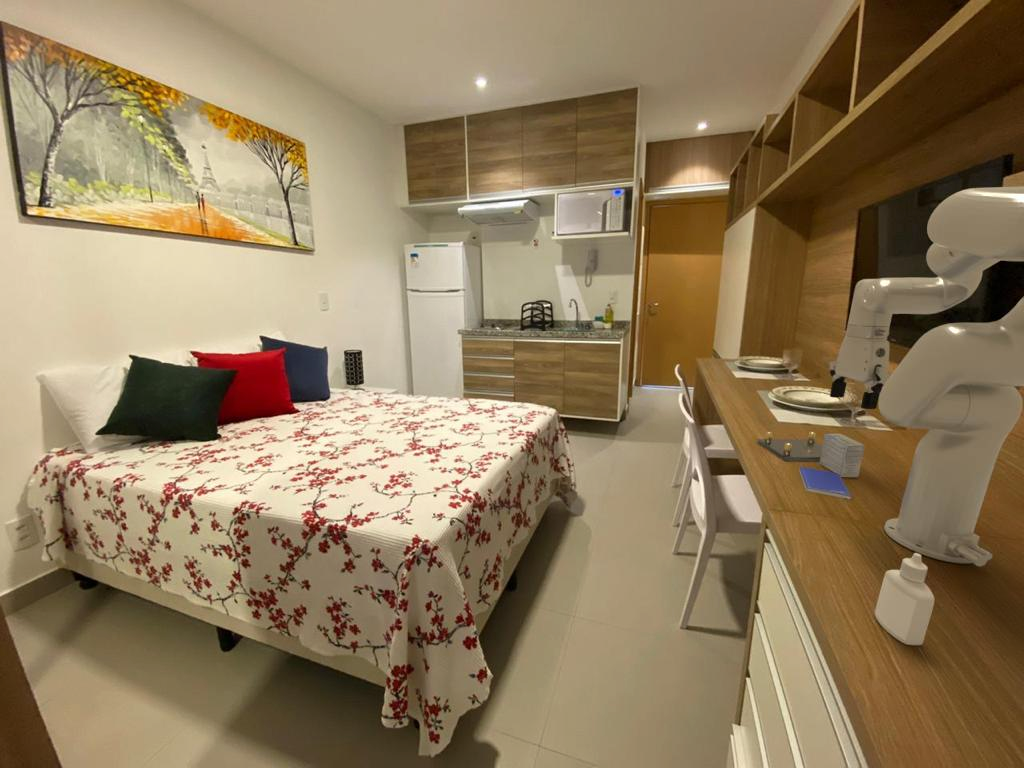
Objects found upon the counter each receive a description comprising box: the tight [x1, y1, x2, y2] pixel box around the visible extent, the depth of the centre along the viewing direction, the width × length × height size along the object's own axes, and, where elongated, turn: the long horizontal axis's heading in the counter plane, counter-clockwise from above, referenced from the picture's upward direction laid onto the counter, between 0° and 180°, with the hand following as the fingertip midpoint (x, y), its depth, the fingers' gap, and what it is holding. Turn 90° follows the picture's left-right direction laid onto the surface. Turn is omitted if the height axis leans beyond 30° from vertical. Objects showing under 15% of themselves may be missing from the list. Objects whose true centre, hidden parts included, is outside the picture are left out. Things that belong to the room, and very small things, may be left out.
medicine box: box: [818, 433, 866, 478], centre depth 105 cm, size 8×4×9 cm, turn 179°
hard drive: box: [798, 466, 852, 500], centre depth 99 cm, size 2×8×12 cm
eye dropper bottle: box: [874, 552, 936, 646], centre depth 56 cm, size 4×6×12 cm
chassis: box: [756, 430, 823, 462], centre depth 117 cm, size 13×16×4 cm
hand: (851, 402), depth 102 cm, fingers open, 9 cm apart
